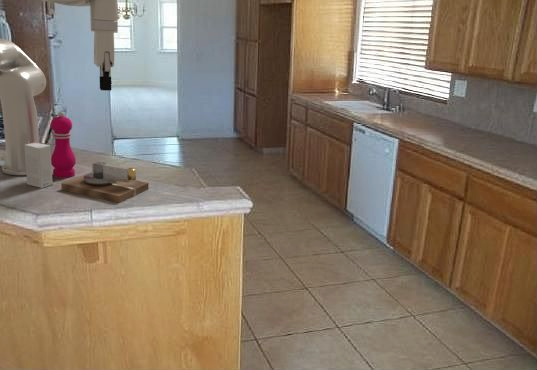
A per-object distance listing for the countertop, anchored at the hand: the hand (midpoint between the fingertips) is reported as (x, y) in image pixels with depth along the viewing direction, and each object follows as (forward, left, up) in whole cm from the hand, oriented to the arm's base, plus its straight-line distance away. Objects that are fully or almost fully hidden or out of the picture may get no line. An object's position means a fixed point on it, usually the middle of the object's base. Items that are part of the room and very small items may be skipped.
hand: (105, 89), depth 157 cm
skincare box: (-10, -18, -27) cm, 34 cm away
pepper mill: (-11, -7, -27) cm, 30 cm away
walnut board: (+8, -11, -27) cm, 30 cm away
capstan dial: (+10, -11, -25) cm, 29 cm away
